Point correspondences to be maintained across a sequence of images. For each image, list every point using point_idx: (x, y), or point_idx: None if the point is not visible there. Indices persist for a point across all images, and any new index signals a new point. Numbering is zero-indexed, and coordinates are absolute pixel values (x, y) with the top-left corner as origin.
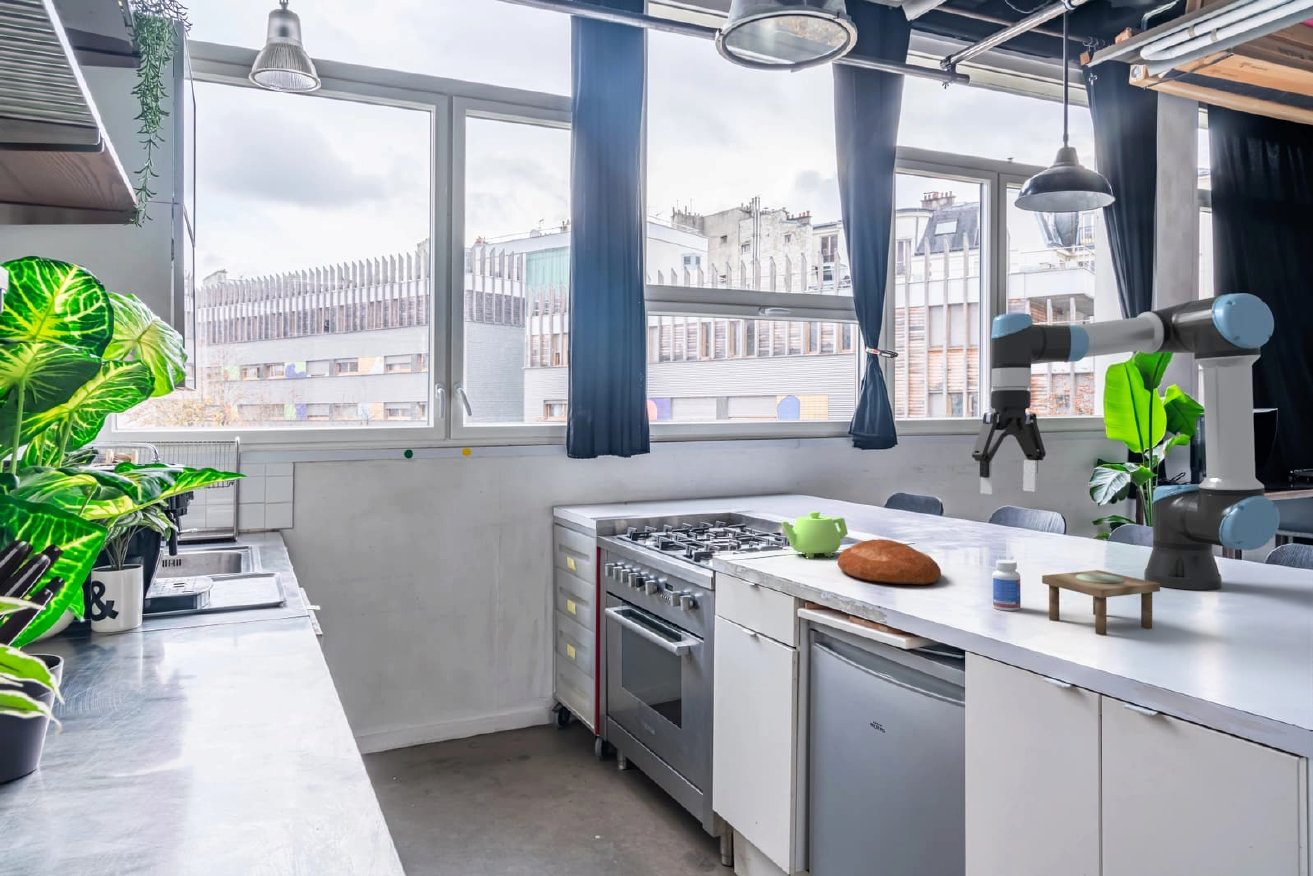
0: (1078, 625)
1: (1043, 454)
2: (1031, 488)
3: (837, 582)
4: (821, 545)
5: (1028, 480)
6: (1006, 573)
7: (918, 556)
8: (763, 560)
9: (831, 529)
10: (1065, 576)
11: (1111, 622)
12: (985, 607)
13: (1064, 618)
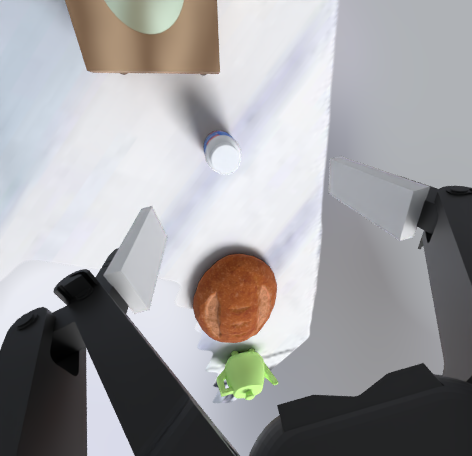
0: None
1: (34, 317)
2: (154, 219)
3: (290, 280)
4: (249, 357)
5: (155, 241)
6: (233, 144)
7: (234, 285)
8: (287, 345)
9: (240, 375)
10: (187, 42)
11: None
12: None
13: None
